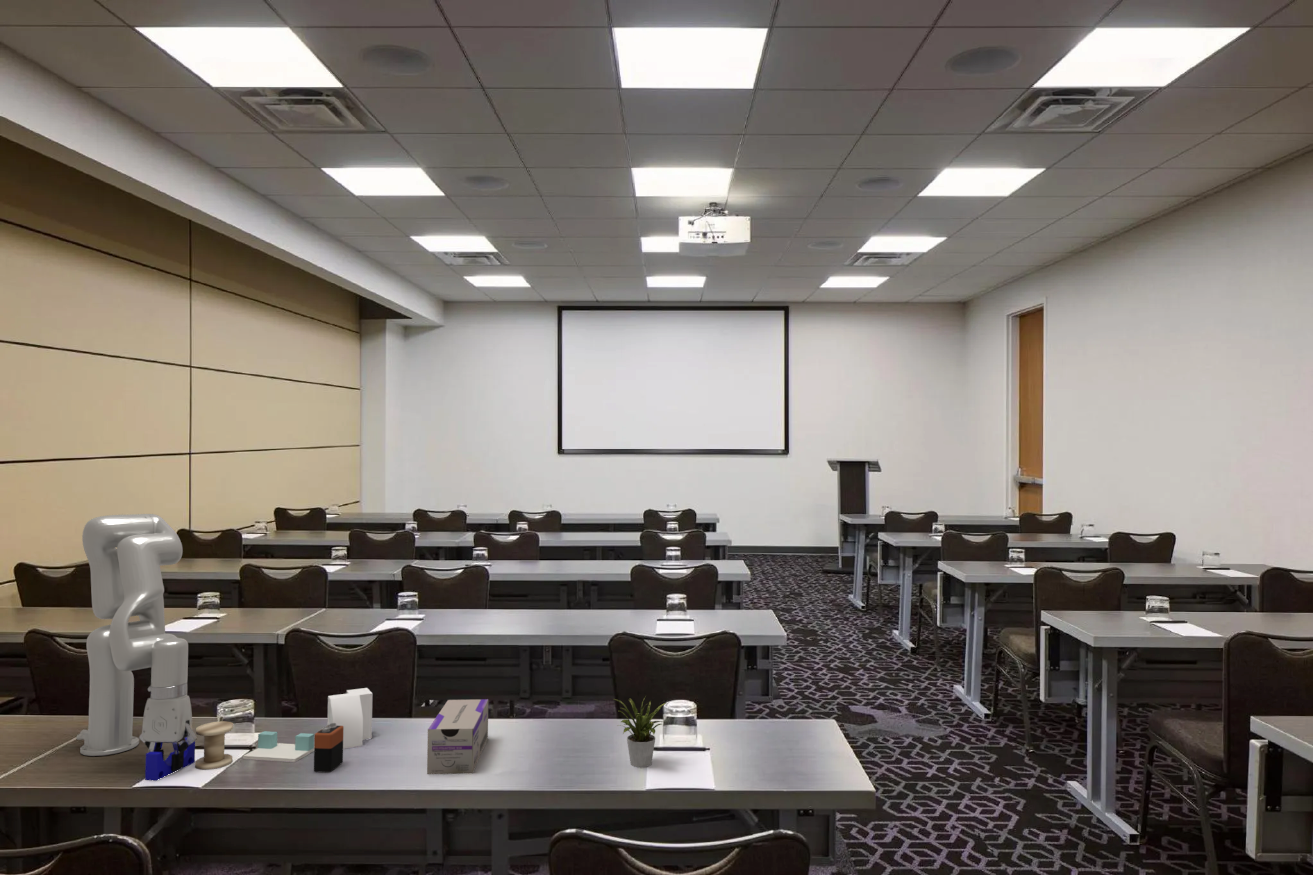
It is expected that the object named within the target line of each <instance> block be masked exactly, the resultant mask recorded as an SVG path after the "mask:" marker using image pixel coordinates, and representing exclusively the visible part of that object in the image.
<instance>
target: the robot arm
mask: <svg viewBox="0 0 1313 875" xmlns="http://www.w3.org/2000/svg"><path fill="white" fill-rule="evenodd" d="M81 536H82V539H81V540H82V547H83V551H84V554H85V557H86V558H87V561H88V565H89V568H90V569H89V570H90V587H91V607H92V612H93V614H94V616H95V618H97V619H100V620H111V623H110V624H107V625H103V626H100V627H97V628H96V629H94V630H92V631H91V632H89V634H88V636H87V638H86V651H87V652H86V653H87V657H88V665H89V698H88V726H87V728H88V729H82V730H81V731H80V732H79V733H78V734H77V736H76V740H78V741H84V742H83V743H84V744H83V745H82V746H80V751H79V752H80V754H81V755H84V756H89V757H95V756H97V757H98V756H109V755H114V754H119V753H123V752H125V751H129V750H132V749H134V748H135V747H137V746H138V745H139V743H140V741H141V742H143V744H144V745H145V746H146V748H147V749H148V753H149V752H162V756H163V760H164V761H165V754H164V753H165V751H164V749H162V748H163V744H164V743H167V744H169V743H170V744H172V748H173V751H174V754H173V755H172V761H171V771H172V772H174V773H176V772H178V771H179V769H180V770H182V769H184V768H183V764H184V751H186V749H187V748H188V747H189V746H190V744H192V743H193V742H194V741H195V742H196V741H197V740H198V737H197V734H196V733H195V732H194V730H193V714H192V704H191V699H190V695H188V676H189V675H188V674H189V672H188V669H189V667H188V666H189V642H188V641H187V640H186V639H185V638H181V637H177V636H176V635H175V634H172V633H166V622H165V620H166V618H165V600H164V593H165V586H164V583H163V582H164V581H163V576H162V570H161V567H163V566H171V565H176V564H178V562H180V560H181V559H182V556H183V554H184V553H183V552H184V551H183V544H182V542H181V539H180V537H179V534H177V532H176V531H175V530H174V529H173V528H172V527H171V526H170V525H169V523H167V521H166V520H165V519H164V518H163V517H161V516H160V515H158V514H153V513H140V514H139V513H136V514H109V515H101V516H97V517H93V518H91V519H89V520H88V521H87V522H86V523H85V525H84V527H83V530H82V535H81ZM131 617H138V618H139V620H135V621H129V620H130V619H131ZM148 668H151V670H150V675H151V677H150V685H149V686H148V688H147V691H148V692H150V697H148V698H147V700H146V703H145V706H144V712H143V718H142V727H141V728H142V729H141V733H140V735H139V737H137V736H133V727H134V726H133V722H134V721H133V719H134V694H135V692H134V690H135V689H134V688H135V678H134V676H135V675H134V674H133V672H132V671H137V670H143V669H148ZM186 737H187V740H186V741H185V738H186ZM179 743H180V746H179ZM181 768H182V769H181ZM177 770H178V771H177ZM175 771H176V772H175Z"/></svg>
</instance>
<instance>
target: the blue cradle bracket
mask: <svg viewBox="0 0 1313 875" xmlns="http://www.w3.org/2000/svg"><path fill="white" fill-rule="evenodd" d="M186 740H187V737H186V738H185V741H186ZM178 743H179V742H178ZM179 746H180V743H179ZM173 754H174V750H173V751H171V752H170V753H169V755H168V756H167V757H166V758H165V759H164V760H163V756H162V752H149V751H148V752H147V753H145V771H144V772H145V775H144V776H145V777H144V780H145V781H152V780H153V781H155V782H156V781H159V780H161V779H160V778H162V779H164V778H165V777H164V776H166V777H167V775H168V774H170V775H172V774H174V773H173V772H172V771H171V761H172V755H173ZM195 761H196V740H195V741H194V742H193V743H192V744H190V746H189V747H188V748H187V749H186V751H184V764H183V768H181V769H179V770H182V769H184V768H186V767H188V766H190V765H192V764H195ZM179 770H178V771H179ZM171 773H172V774H171ZM168 776H169V775H168ZM163 777H164V778H163ZM158 779H159V780H158Z"/></svg>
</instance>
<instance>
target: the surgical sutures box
mask: <svg viewBox="0 0 1313 875" xmlns="http://www.w3.org/2000/svg"><path fill="white" fill-rule="evenodd" d="M488 740H489V699H488V698H487V699H486V698H485V699H447V701H446V702H445V704H444V705H443V706H442V708H441V710H440V711H439V713H438V714H437V715H436V717H435V718H434V720H433V721H432V723H431V724H430V726H429V727H428V728H427V747H426V749H427V754H426V755H427V757H426V759H427V761H426V765H427V766H426V767H427V768H426V775H449V774H450V775H457V774H458V775H459V774H461V775H463V774H466V775H467V774H473V773H474V772H475V769H476V767H477V765H478V762H479V760H480V758H481V756H482V753H483V751H484V749H485V746H486V744H487V742H488Z"/></svg>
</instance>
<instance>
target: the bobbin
mask: <svg viewBox="0 0 1313 875" xmlns="http://www.w3.org/2000/svg"><path fill="white" fill-rule="evenodd" d="M233 729H234V723H233V722H231V721H213V722H208V723H204V724H201V725H198V726H197V727H196V729H195V735H196V736H203V756H202V757H200V758H199V759H195V763H194V768H195V769H197V770H205V771H206V770H216V769H220V768H224V767H227V766H229V765H231V764H232V763H233V756H232V754H228V753H225V740H226V737H225V736H226V733H229V732H231V731H232V730H233Z"/></svg>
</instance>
